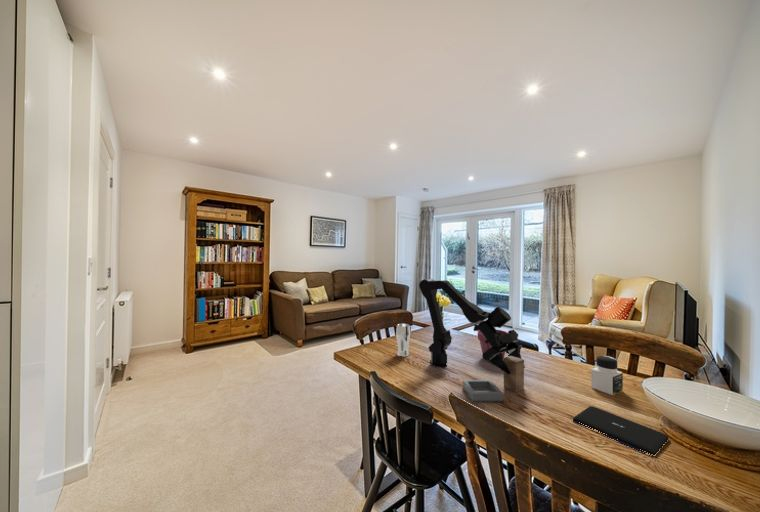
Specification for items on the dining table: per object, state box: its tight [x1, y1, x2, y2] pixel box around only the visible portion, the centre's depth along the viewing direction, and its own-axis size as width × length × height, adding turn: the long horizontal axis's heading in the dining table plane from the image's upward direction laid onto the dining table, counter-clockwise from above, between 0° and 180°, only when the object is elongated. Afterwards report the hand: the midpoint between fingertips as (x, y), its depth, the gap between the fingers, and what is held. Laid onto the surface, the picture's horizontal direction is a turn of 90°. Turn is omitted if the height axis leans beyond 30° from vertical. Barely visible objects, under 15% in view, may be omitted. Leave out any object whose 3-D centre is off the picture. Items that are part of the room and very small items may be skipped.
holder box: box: [462, 379, 504, 403], centre depth 101 cm, size 10×10×3 cm
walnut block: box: [503, 356, 525, 393], centre depth 106 cm, size 5×5×11 cm
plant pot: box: [477, 328, 508, 360], centre depth 137 cm, size 14×14×13 cm
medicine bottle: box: [590, 355, 624, 396], centre depth 105 cm, size 7×7×12 cm
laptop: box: [572, 405, 669, 455], centre depth 81 cm, size 16×20×2 cm
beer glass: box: [395, 323, 411, 358], centre depth 142 cm, size 7×7×15 cm
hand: (517, 371), depth 105 cm, fingers open, 9 cm apart
